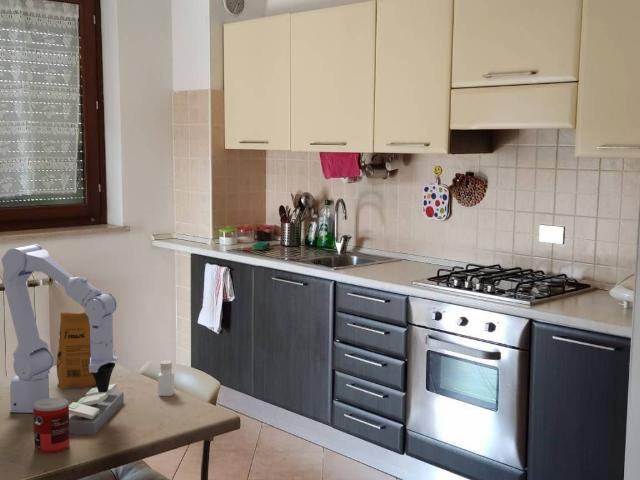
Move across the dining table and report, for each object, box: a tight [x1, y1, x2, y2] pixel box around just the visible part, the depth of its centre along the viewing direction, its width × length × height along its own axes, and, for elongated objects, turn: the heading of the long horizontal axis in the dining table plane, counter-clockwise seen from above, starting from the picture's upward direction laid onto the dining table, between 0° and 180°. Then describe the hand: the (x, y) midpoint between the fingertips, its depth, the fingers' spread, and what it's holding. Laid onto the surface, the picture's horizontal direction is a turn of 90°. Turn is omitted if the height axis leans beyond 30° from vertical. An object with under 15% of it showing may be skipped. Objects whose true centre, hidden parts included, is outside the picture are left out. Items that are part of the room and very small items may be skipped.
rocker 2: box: [76, 393, 108, 407], centre depth 208 cm, size 7×5×2 cm
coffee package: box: [56, 311, 97, 390], centre depth 234 cm, size 10×12×22 cm
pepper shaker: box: [157, 360, 175, 397], centre depth 227 cm, size 4×4×10 cm
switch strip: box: [69, 391, 125, 435], centre depth 210 cm, size 9×28×3 cm, turn 177°
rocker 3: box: [69, 401, 100, 420], centre depth 200 cm, size 7×5×2 cm
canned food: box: [32, 397, 71, 454], centre depth 187 cm, size 8×8×11 cm
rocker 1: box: [85, 383, 118, 397], centre depth 216 cm, size 7×5×2 cm
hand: (103, 391), depth 207 cm, fingers closed
